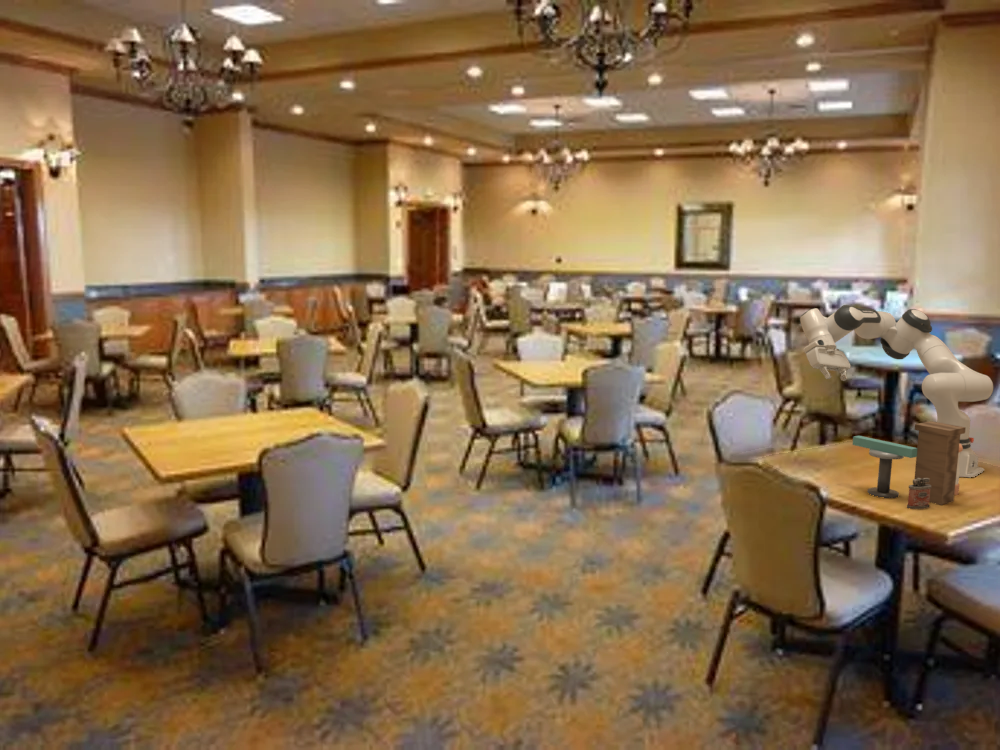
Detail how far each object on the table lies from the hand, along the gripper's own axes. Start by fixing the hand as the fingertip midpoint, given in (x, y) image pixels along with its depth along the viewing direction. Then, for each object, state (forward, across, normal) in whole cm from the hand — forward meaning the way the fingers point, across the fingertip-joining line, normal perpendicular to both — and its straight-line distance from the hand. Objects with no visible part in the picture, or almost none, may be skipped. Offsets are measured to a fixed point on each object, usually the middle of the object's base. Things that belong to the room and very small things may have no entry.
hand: (836, 379), depth 316 cm
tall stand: (+52, -8, +11) cm, 54 cm away
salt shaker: (+49, -21, +10) cm, 55 cm away
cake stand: (+46, +1, 0) cm, 46 cm away
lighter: (+55, +5, +12) cm, 57 cm away
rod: (+33, +4, +8) cm, 34 cm away
